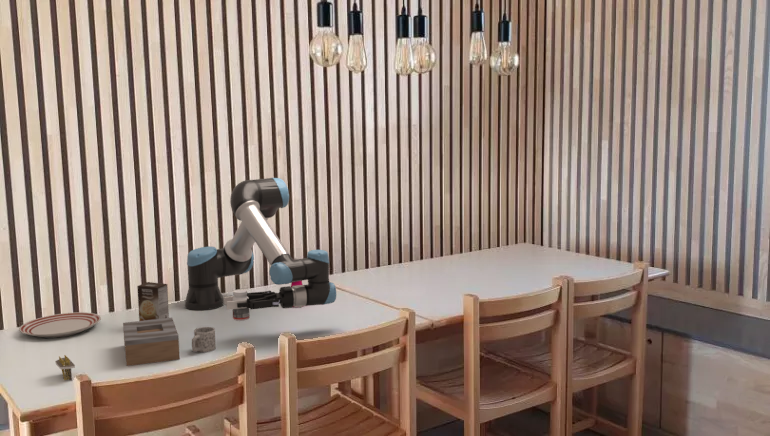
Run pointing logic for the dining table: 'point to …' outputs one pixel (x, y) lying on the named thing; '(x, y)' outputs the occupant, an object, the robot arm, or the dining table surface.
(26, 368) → the dining table surface
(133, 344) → the tissue box
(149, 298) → the coffee box
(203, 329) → the mug
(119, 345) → the dining table surface
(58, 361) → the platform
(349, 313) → the dining table surface
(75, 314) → the dinner plate
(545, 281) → the dining table surface
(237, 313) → the pill bottle
